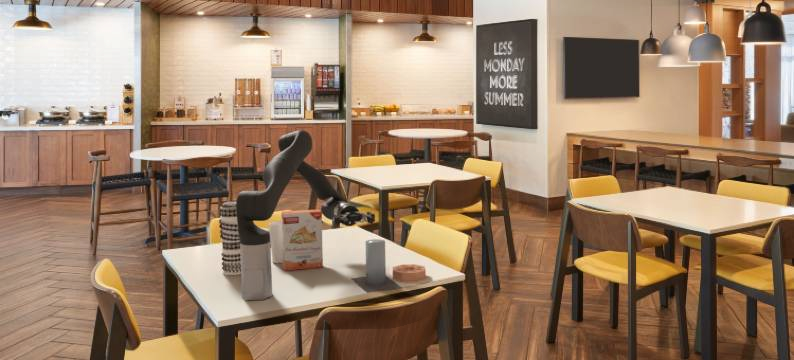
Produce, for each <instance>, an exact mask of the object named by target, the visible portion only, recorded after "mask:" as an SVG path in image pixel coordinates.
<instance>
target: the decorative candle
mask: <svg viewBox="0 0 794 360" xmlns="http://www.w3.org/2000/svg"><path fill="white" fill-rule="evenodd" d="M219 209H220V219H219V220H218V224H219V226H218V227H219V228H220V230H219V233H220V235H219V236H220V241H221V243H222V244H221V246H222V248H221V251H222V253H221V254H220V255H221V261H222V262H221V269H222V272H221V273H222V274H223V275H225V276H226V275H227V276H234V275H241V255H240V238H239V234H238V223H237V214H236V201H227V202H223V203H222V204H221V206H220V207H219Z"/></svg>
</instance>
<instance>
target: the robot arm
mask: <svg viewBox="0 0 794 360" xmlns="http://www.w3.org/2000/svg"><path fill="white" fill-rule="evenodd" d="M277 142H278V143H277V145H278V149H279V151H280V153H278V154H276V155H275V156H273V157H272V158H271V159H270V161H269V162H268V163H267V165H266V166H265V167H264V169H263V172H262V181H263V183H264V185H265V187H266V189H265V190H242V191H240V192H239V193H238V194H237V197H236V200H235V202H236V214H237V223H238V234H239V238H240V255H241V274H240V275H241V276H240V277H241V293H242V295H241V297H242V298H243V299H244V301H264V300H265V301H266V299H268V297H269V298H270V297H272V296H273V280H272V279H273V278H272V276H273V275H272V250H271V245H270V234H269V232H267V231H265V230H263V229H261V228H262V227H260V228H259V226H257V224H255V222H265V221H268V220H270V219H271V217H272V216H273V214H274V212H275V211H276V209H277V206H278V203H279V201H280V199H281V196H282V194H284V191H285V189H286V188H287V186H288V185H289V184H290V182H291V180H292V179H293V177H294V174H295V173H296V172H297V173H298V174H299V175H300V176H301V178H303V179H304V180H305V181H306V182H307V184H308V185H309V187H310V188H311V190H312V191H313V193H314V194H315V196H316V197H317V199H318V200H320V201H324V200H326V201H324V202H323V203H322V205H321V206H320V207H321V208H320V211H321V212H322V216H323V217H324V218H326V219H328V220H330V221H331V220H332V223H334V225H336V226H339V225H340V224H341V225H343V226H346V227H353V226H355V225H356V224H358V223H360V224H364V223H368V224H370V225H371V224H373V223H374V222H375V221H376V213H373V212H370V211H366V212H360V211H359V209H358V208H357V207H356V206H354V205H353V204H351V203H349V202H348V200H347V198H346V197H345V196H343V195H342V194H341V193H340V192H339V191H337V190H336V188H335V187H334V186H333V185H332V184H331V182H330V181H329V178H328V177H327V175H325V174H324V173H323V171H321V170H319V169H318V168H317V167H314V166H312V165H311V164H309V163H307V162H306V161H304V160H305V159H306V158H307V157H308V156H309V154H310V153H311V151H312V149H313V138H312V136H311V134H310V133H309V132H308V131H306V130H304V129H303V130H302V129H299V130H295V131H292V132H289V133H287V134H283V135H281V136H280V137H279V138H278V141H277ZM254 221H255V222H254Z"/></svg>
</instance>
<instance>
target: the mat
mask: <svg viewBox="0 0 794 360" xmlns="http://www.w3.org/2000/svg"><path fill="white" fill-rule="evenodd" d="M350 279H351V280H352V281H353V282H354V283H356V285H357V286H358V287H360V289H362V290H363V291H364V292H366V293H367V294H370V293H371V294H372V293H376V292H377V293H379V292H384V291H385V292H386V291H393V290H401V289H402V290H403V289H404V288H403V287H402V286H401V285H399V284H398V283H396V282H395V281H394V280H393V279H391V278H389V276H387V275H386V284H384V285H381V286H370V285H367V284H366V276H360V277H351V278H350Z"/></svg>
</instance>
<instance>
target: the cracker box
mask: <svg viewBox="0 0 794 360" xmlns="http://www.w3.org/2000/svg"><path fill="white" fill-rule="evenodd" d="M281 221H282V247H283V263H282V268H283V269H284V271H294V270H295V271H296V270H308V269H323V267H324V265H323V264H324V259H323V258H324V257H323V256H324V254H323V253H324V251H323V214H322V212H321V209H303V210H300V209H299V210H286V211H285V210H283V211H281Z"/></svg>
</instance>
